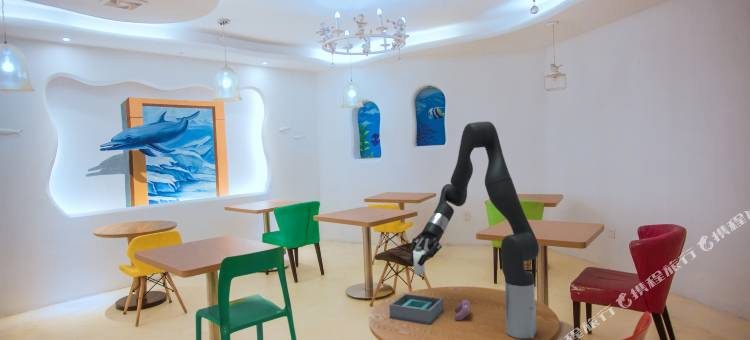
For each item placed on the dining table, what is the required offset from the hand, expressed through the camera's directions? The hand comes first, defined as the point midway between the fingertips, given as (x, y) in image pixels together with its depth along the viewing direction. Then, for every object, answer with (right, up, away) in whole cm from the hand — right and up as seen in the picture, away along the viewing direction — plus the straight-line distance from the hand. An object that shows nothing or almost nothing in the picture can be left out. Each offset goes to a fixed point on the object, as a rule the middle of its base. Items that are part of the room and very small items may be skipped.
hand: (415, 263), depth 166 cm
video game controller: (+17, -19, -2) cm, 26 cm away
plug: (+2, -4, +1) cm, 5 cm away
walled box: (+1, -19, +1) cm, 19 cm away
